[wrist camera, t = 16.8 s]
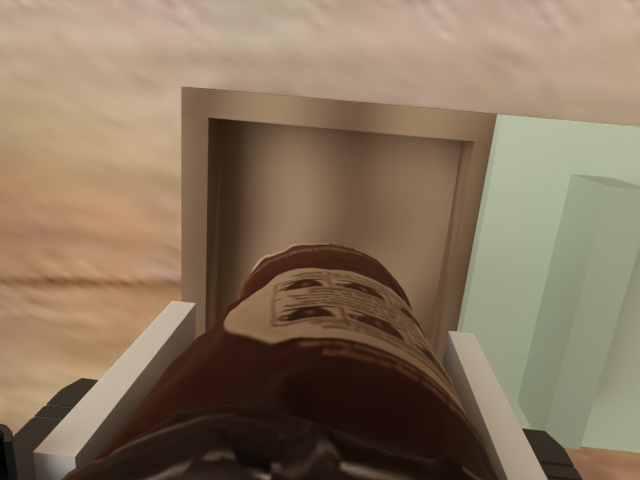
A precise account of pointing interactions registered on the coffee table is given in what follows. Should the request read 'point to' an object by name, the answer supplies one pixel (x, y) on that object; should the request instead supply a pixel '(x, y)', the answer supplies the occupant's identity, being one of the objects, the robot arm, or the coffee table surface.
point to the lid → (561, 278)
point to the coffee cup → (303, 387)
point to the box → (330, 193)
